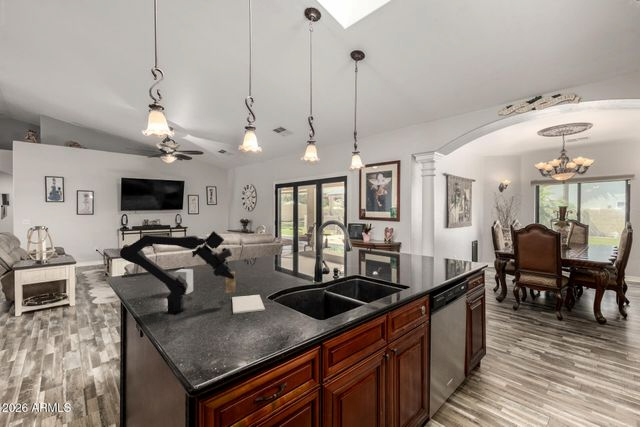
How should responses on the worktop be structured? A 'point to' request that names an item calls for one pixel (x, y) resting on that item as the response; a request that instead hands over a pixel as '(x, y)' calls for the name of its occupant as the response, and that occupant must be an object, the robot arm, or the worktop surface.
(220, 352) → the worktop surface
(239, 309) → the cutting board
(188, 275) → the supplement box
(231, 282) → the oak block
